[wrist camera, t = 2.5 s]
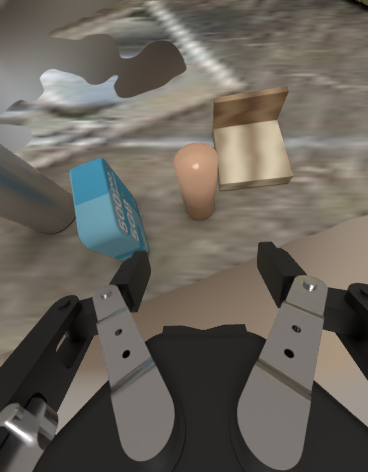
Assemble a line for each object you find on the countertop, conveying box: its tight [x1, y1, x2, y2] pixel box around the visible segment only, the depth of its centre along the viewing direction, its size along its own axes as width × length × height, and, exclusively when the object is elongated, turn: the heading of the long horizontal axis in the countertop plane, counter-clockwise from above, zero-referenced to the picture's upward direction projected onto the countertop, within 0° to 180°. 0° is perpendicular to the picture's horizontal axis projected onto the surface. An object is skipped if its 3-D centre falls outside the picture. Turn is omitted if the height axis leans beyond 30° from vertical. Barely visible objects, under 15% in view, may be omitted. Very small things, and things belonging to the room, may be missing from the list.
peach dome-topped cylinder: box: [174, 143, 218, 220], centre depth 26 cm, size 5×5×12 cm
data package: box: [70, 158, 149, 261], centre depth 26 cm, size 12×4×12 cm, turn 19°
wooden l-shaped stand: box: [213, 86, 293, 191], centre depth 30 cm, size 12×14×7 cm
